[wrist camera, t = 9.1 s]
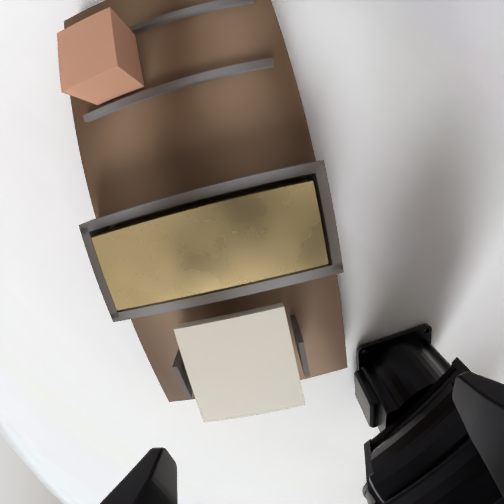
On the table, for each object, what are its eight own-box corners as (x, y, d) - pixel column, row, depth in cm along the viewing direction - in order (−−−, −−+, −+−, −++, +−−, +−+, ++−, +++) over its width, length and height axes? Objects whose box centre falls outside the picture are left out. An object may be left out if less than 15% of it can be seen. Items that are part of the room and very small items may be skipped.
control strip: (254, -26, 14) (257, -70, 9) (339, 352, 22) (361, 396, 17) (77, 30, 15) (40, 4, 10) (173, 385, 22) (160, 432, 17)
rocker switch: (282, 302, 17) (284, 306, 16) (302, 395, 17) (305, 404, 16) (179, 324, 17) (173, 329, 16) (207, 412, 17) (203, 421, 16)
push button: (302, 178, 16) (313, 180, 14) (316, 250, 17) (328, 263, 15) (110, 228, 16) (91, 238, 14) (131, 292, 17) (117, 310, 15)
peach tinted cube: (135, 35, 13) (110, 7, 10) (144, 86, 14) (117, 66, 11) (90, 54, 14) (57, 33, 10) (97, 105, 14) (61, 92, 11)
